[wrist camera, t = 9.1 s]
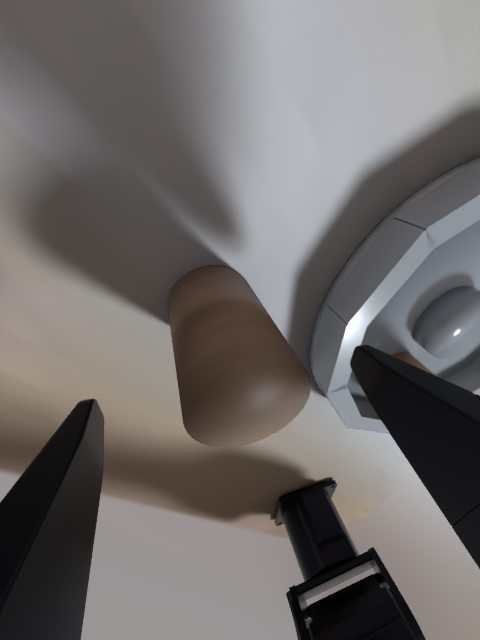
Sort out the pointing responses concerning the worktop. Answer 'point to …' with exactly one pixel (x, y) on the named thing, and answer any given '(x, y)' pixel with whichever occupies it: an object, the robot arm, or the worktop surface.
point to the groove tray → (407, 295)
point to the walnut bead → (231, 361)
